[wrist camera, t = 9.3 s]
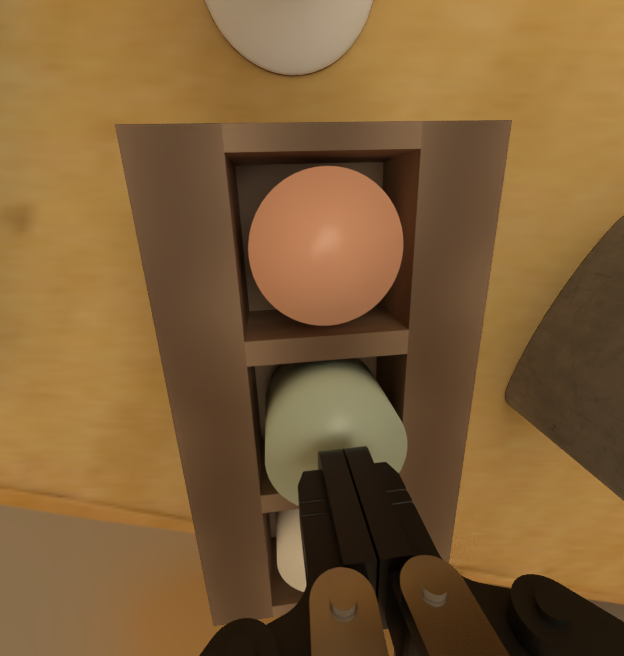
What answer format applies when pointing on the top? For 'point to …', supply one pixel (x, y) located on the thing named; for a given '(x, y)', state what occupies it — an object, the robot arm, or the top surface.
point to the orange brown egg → (325, 245)
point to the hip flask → (581, 366)
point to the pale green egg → (326, 419)
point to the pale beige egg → (290, 549)
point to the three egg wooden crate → (300, 338)
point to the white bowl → (290, 31)
